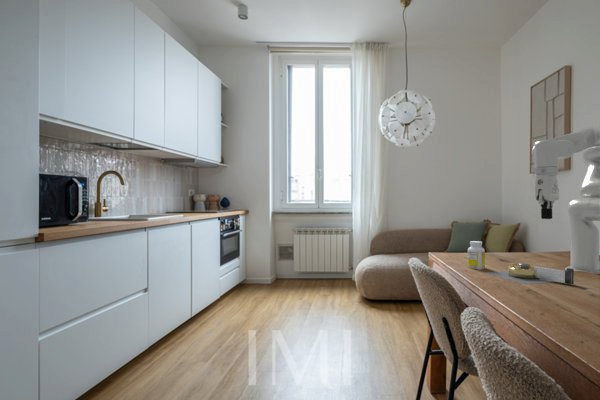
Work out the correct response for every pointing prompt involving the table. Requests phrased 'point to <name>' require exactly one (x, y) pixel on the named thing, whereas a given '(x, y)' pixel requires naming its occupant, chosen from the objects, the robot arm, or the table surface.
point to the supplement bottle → (476, 255)
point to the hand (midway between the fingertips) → (546, 218)
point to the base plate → (521, 280)
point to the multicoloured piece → (541, 273)
